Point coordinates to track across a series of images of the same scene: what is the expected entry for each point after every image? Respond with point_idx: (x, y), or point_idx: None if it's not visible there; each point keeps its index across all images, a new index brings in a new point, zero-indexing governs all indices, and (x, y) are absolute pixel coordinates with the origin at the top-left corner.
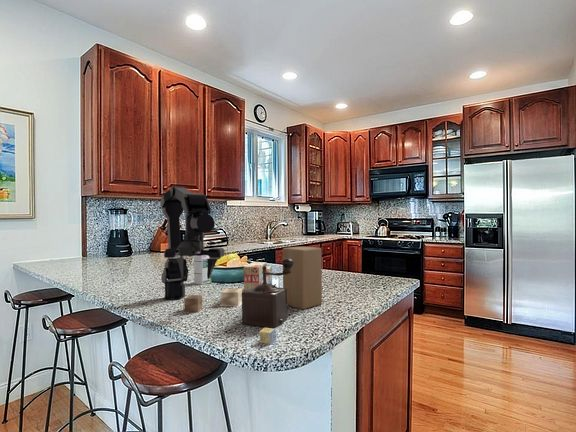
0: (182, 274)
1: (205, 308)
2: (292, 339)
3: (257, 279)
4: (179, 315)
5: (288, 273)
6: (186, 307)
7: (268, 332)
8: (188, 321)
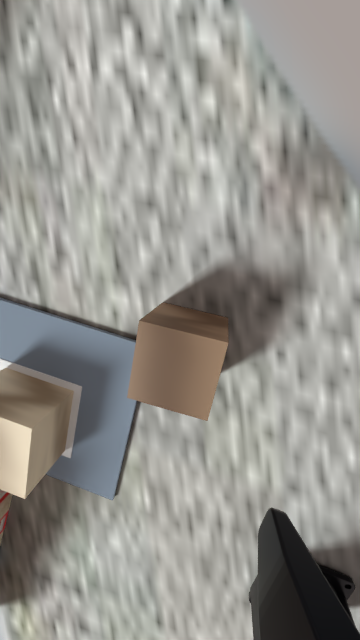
0: (265, 583)
1: None
2: None
3: None
4: (249, 290)
5: None
6: (216, 322)
7: None
8: (194, 171)
